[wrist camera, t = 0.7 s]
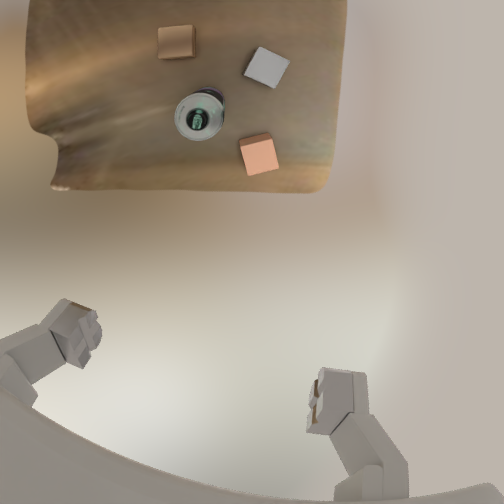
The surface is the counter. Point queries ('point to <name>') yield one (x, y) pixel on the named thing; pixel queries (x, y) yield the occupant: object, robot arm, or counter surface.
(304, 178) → the counter surface
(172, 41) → the walnut block
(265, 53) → the charcoal block
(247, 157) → the terracotta block
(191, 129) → the spray can
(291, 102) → the counter surface
